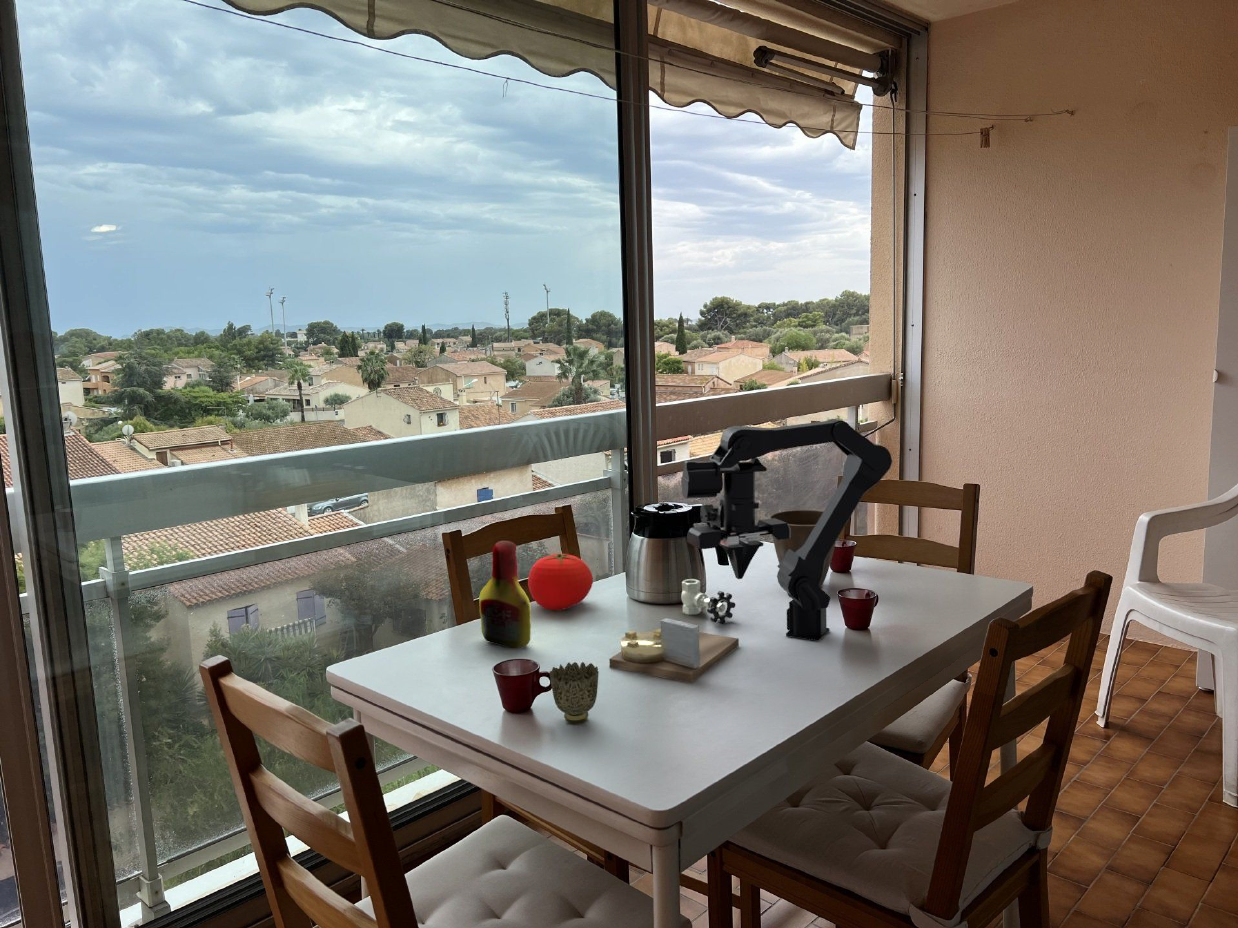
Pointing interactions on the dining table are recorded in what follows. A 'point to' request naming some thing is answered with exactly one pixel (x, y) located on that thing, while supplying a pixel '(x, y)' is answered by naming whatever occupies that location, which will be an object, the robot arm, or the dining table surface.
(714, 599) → the valve
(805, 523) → the plant pot
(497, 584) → the bottle
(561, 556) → the tomato
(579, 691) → the cup
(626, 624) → the dining table surface
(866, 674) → the dining table surface
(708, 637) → the walnut base
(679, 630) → the ring nut spanner
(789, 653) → the dining table surface
